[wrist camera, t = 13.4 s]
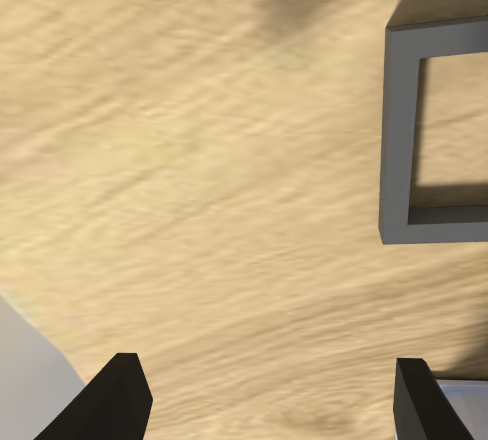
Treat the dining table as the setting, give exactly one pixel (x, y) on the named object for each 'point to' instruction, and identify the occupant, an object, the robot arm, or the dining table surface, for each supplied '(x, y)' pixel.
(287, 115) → the dining table surface
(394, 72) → the grey rectangular frame
